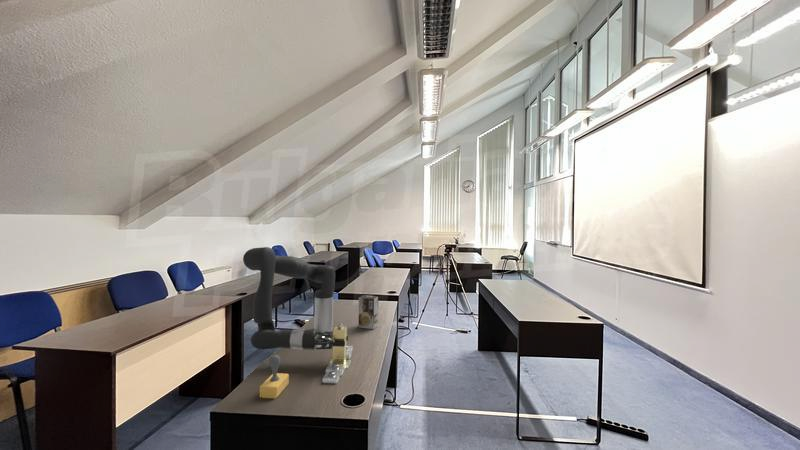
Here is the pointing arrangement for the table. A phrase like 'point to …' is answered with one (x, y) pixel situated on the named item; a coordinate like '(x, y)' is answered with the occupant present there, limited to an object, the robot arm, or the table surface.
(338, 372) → the studded plate chain
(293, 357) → the table surface
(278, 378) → the yellow handled block
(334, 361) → the tall studded toy brick
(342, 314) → the table surface
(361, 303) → the coffee box
